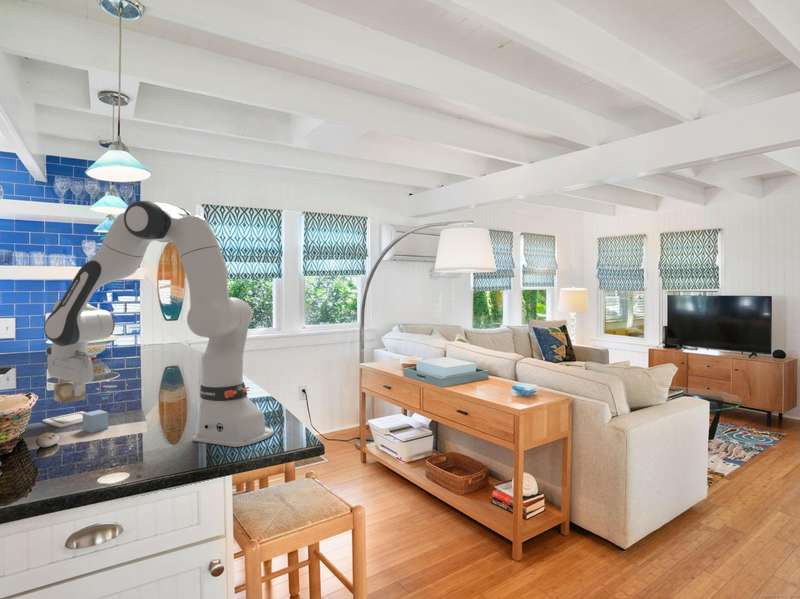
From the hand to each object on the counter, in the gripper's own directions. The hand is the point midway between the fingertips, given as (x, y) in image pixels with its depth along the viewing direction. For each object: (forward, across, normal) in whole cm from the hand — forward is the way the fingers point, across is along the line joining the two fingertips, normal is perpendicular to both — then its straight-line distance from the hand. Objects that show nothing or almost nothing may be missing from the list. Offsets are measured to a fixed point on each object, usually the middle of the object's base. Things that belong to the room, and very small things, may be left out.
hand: (70, 394), depth 142 cm
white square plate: (+8, 0, 0) cm, 8 cm away
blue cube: (+8, -16, +1) cm, 18 cm away
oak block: (+2, 0, 0) cm, 2 cm away
